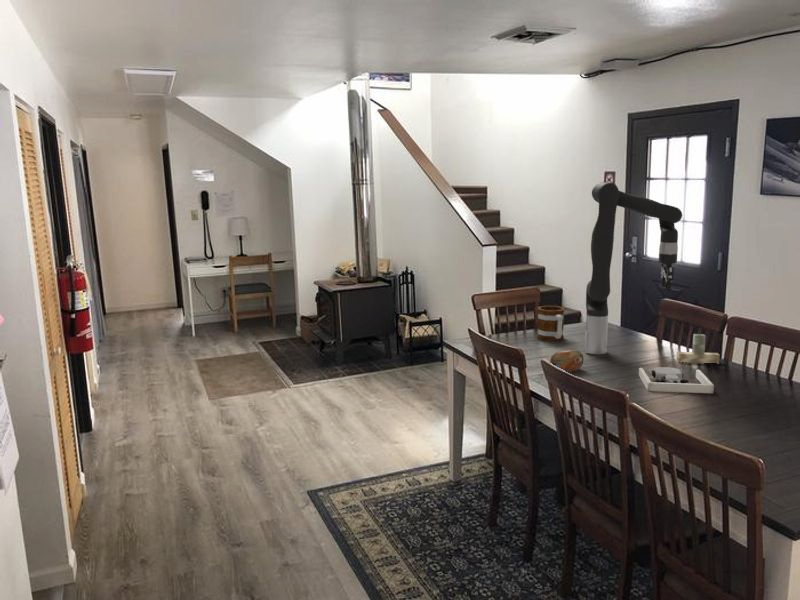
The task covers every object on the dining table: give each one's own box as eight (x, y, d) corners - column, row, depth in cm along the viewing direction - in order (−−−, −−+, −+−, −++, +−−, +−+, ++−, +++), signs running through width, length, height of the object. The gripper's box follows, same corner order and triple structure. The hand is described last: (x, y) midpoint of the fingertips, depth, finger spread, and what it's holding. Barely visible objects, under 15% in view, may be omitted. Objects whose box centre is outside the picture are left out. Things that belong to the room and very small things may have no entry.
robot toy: (692, 392, 236) (680, 377, 250) (693, 381, 234) (681, 366, 249) (658, 391, 237) (647, 376, 251) (659, 380, 236) (648, 365, 250)
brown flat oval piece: (553, 374, 257) (553, 354, 256) (548, 372, 260) (549, 352, 259) (583, 369, 263) (584, 349, 261) (578, 367, 266) (579, 347, 264)
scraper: (678, 363, 269) (679, 335, 267) (676, 361, 272) (678, 333, 270) (718, 364, 266) (721, 336, 264) (716, 362, 269) (718, 334, 267)
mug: (532, 335, 320) (533, 306, 317) (558, 334, 322) (559, 304, 319) (546, 345, 301) (546, 314, 298) (573, 343, 303) (574, 313, 300)
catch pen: (648, 390, 235) (648, 383, 235) (638, 375, 254) (639, 367, 253) (713, 393, 231) (713, 385, 230) (699, 377, 250) (699, 369, 249)
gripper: (656, 250, 289) (654, 285, 292) (662, 254, 275) (660, 291, 278) (673, 250, 288) (671, 286, 291) (681, 254, 274) (678, 291, 277)
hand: (666, 288), depth 285 cm, fingers open, 8 cm apart
